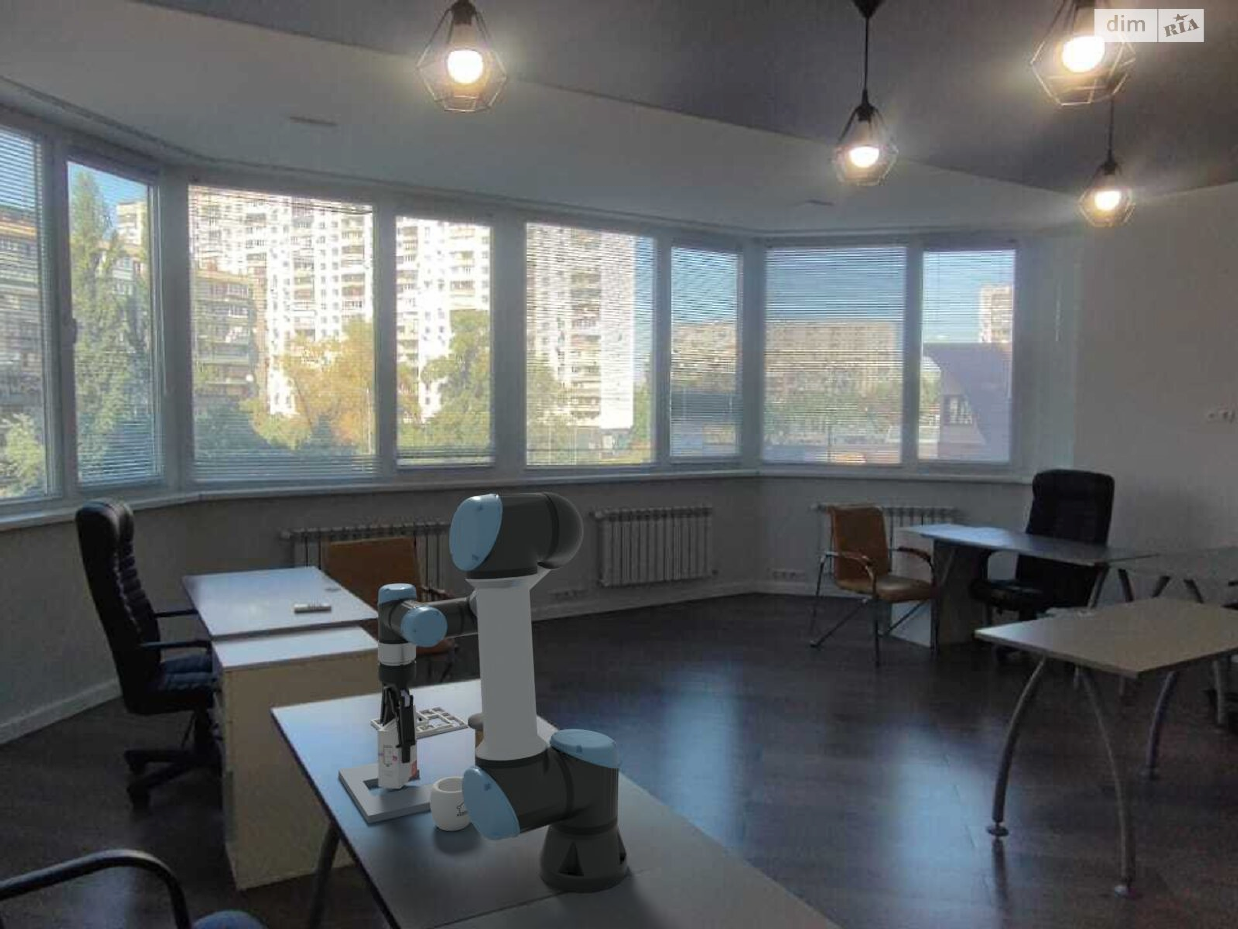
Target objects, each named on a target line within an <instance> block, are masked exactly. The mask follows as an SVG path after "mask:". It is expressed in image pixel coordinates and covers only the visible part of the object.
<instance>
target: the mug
mask: <svg viewBox="0 0 1238 929" xmlns="http://www.w3.org/2000/svg"><path fill="white" fill-rule="evenodd" d="M463 777H464V776H449V777H444V778H441V779H438V780H437V781H435V782H434V783H433V787H432V789H431V795H430V807H431V809H430V812H431V816H432V820H433V823H434V824H435V826H437V828H438V829H440V830H442V831H448V832H453V831H454V832H455V831H459V830H462V829H464V828H466V827H468V826H469V824H470V823H471V822H472V821H471V819H470V817H469V815H468V812H467V809H466V807H465V803H464V799H463V794H462V778H463Z"/></svg>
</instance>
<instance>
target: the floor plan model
mask: <svg viewBox="0 0 1238 929" xmlns="http://www.w3.org/2000/svg"><path fill="white" fill-rule="evenodd" d="M436 711H440V712H436ZM426 713H428V714H426ZM425 714H426V715H425ZM416 717H417V718H418V721H417V739H419V738H423V737H427V736H432V735H437V734H438V735H439V734H441V733H447V732H452V731H457V730H460V729H464V728H465V729H466V728H468V727H469V726H468V722H465V721H464V720H462V719H461V718H459V717H458V716H456V715H454V714H451V713H450V712H448V711H447V710H445V709H444V708H442V707H440V706H437V707H432V708H428V709H427V708H426V709H423V710H417V709H416ZM435 718H438V719H440V720H442V721H443V722H445V724H441V723H439V724H437V725H436V726H435V725H434V724H433V723H430V720H431V719H435ZM451 720H454V721H455V722H456V723H458V724H459V725H455V724H454V722H453V721H451ZM379 724H382V723H381V722H380V717H379V718H372V719H370V725H372V726H373V727H374V728H375V729H377V731H378V730H379V729H381V728H382V726H381V725H379Z"/></svg>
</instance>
